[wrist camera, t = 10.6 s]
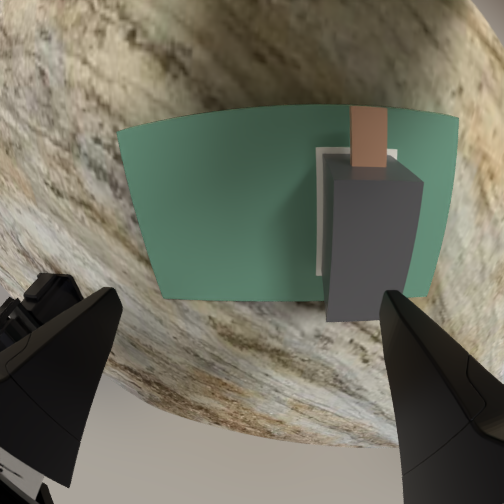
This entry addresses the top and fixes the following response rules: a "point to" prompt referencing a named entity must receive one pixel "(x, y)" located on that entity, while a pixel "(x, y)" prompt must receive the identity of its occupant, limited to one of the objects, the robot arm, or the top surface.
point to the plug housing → (366, 220)
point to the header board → (268, 196)
